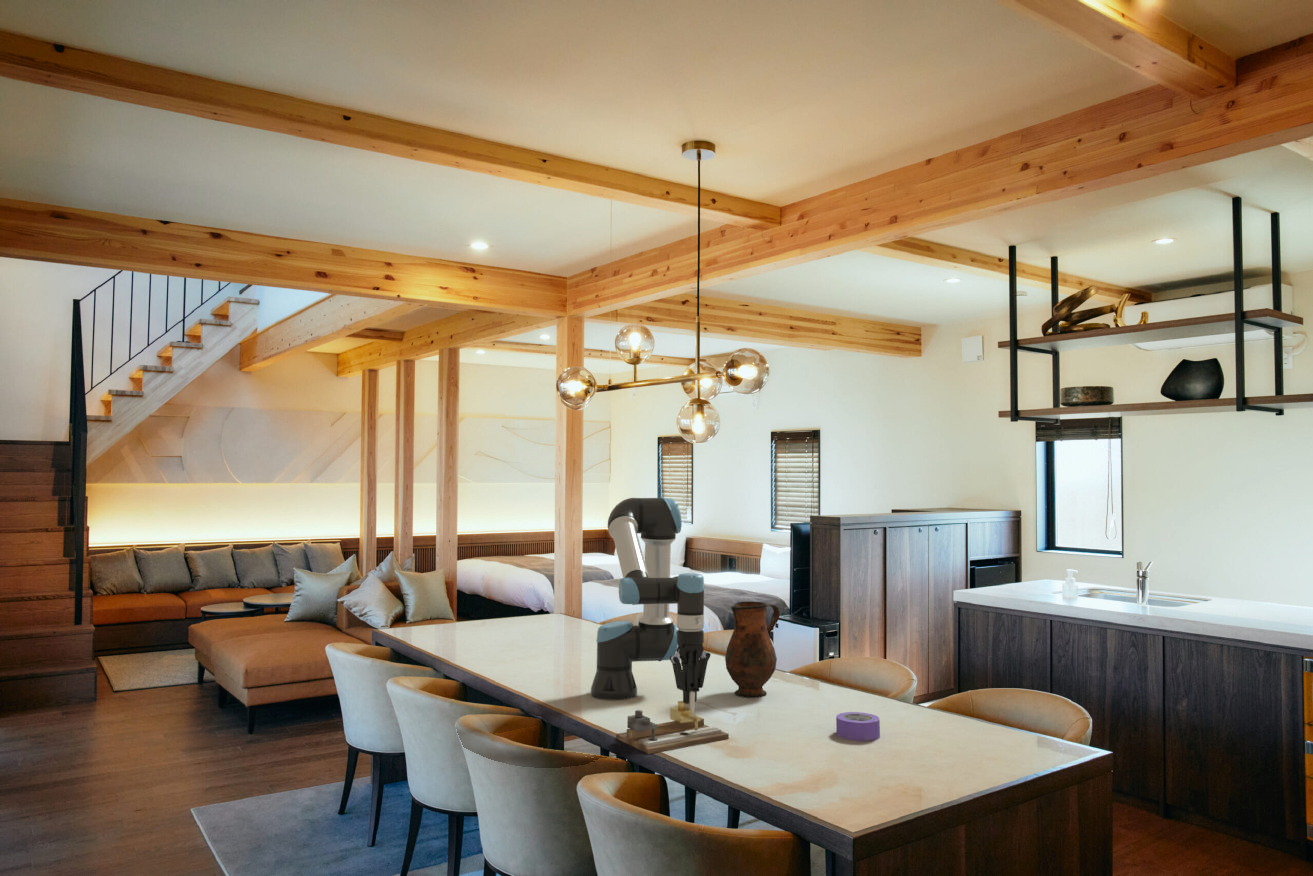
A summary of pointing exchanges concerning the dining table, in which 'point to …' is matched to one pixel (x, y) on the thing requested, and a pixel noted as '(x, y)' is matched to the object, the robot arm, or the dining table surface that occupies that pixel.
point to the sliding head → (683, 714)
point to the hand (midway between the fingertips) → (689, 714)
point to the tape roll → (858, 726)
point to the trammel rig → (667, 734)
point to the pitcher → (751, 649)
